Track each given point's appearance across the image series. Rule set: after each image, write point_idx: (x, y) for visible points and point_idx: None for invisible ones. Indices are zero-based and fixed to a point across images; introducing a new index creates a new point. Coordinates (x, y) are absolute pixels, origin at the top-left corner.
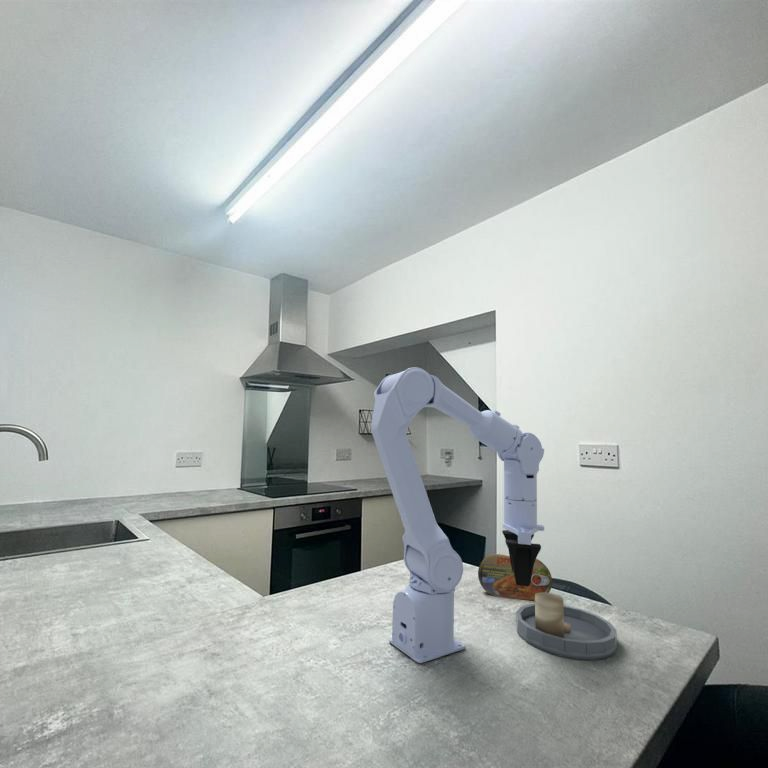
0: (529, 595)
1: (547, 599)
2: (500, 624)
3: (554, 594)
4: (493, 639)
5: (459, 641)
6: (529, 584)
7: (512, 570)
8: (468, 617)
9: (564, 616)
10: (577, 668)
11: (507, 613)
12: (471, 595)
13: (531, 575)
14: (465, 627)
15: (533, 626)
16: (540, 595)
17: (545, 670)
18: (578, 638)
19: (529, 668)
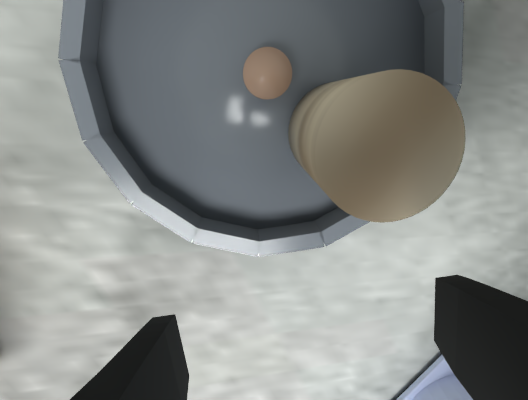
0: None
1: (433, 159)
2: (254, 280)
3: (330, 117)
4: (370, 287)
5: (440, 363)
6: (467, 278)
7: (187, 382)
8: (244, 367)
9: (112, 63)
10: (484, 53)
11: (146, 268)
12: (42, 390)
13: (519, 299)
14: (319, 362)
15: (278, 185)
16: (381, 195)
17: (515, 147)
18: (320, 25)
19: (513, 188)
